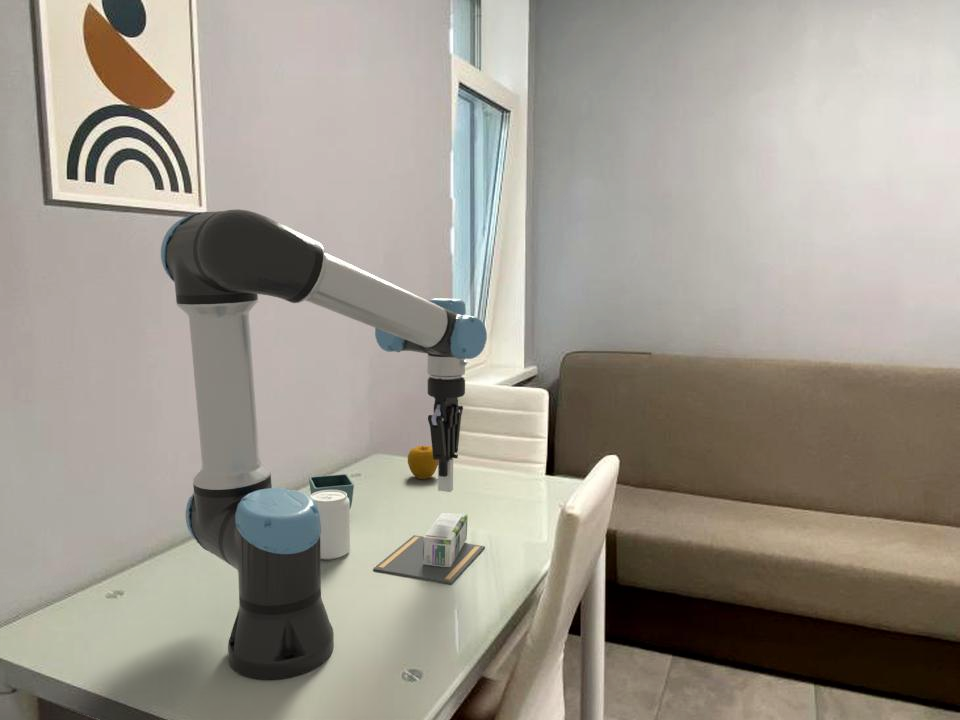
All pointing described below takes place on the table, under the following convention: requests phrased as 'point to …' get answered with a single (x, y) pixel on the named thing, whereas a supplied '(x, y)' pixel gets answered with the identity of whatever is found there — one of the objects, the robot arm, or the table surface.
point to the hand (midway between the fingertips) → (445, 490)
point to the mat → (411, 565)
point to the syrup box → (445, 540)
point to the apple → (422, 462)
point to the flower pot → (332, 484)
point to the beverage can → (333, 522)
